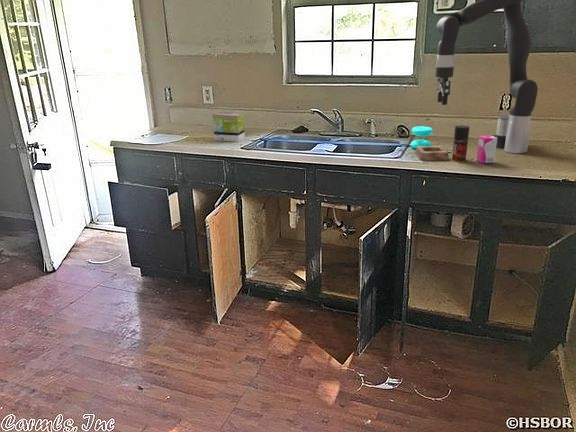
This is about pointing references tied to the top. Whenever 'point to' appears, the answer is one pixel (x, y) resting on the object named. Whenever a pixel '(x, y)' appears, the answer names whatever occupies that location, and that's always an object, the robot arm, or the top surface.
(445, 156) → the collar block
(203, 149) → the top surface
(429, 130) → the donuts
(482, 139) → the supplement box
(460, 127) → the deodorant
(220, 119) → the tea box
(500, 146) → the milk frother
